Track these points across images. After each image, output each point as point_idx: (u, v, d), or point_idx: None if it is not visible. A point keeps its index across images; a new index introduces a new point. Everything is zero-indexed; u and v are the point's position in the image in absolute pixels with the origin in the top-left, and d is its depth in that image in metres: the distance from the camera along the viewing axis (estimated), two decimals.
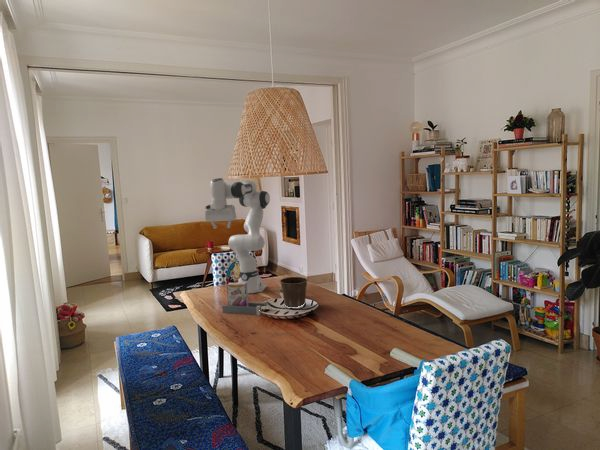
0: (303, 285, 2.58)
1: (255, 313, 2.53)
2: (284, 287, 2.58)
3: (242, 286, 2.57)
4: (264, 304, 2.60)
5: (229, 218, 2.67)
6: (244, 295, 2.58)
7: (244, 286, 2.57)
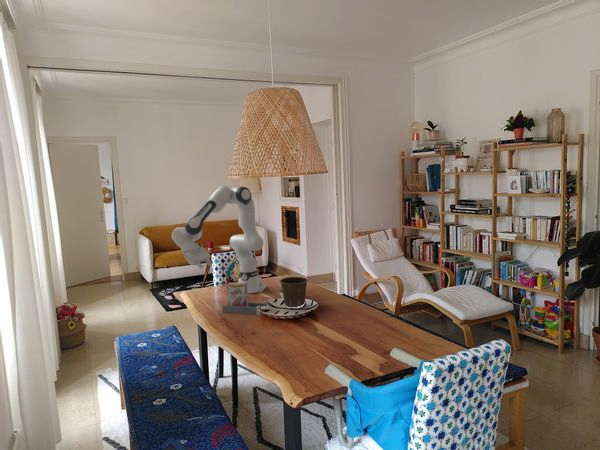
0: (303, 285, 2.58)
1: (255, 313, 2.53)
2: (284, 287, 2.58)
3: (242, 286, 2.57)
4: (264, 304, 2.60)
5: None
6: (244, 295, 2.58)
7: (244, 286, 2.57)
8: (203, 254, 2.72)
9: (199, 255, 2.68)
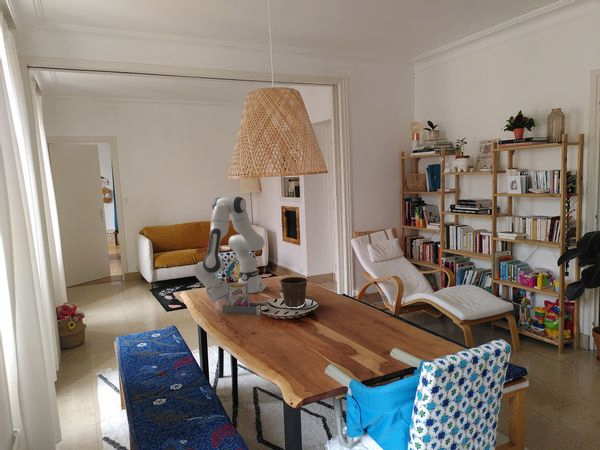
0: (303, 285, 2.58)
1: (255, 313, 2.53)
2: (284, 287, 2.58)
3: (243, 286, 2.57)
4: (264, 304, 2.60)
5: None
6: (245, 295, 2.58)
7: (245, 286, 2.57)
8: (226, 289, 2.68)
9: (222, 291, 2.63)
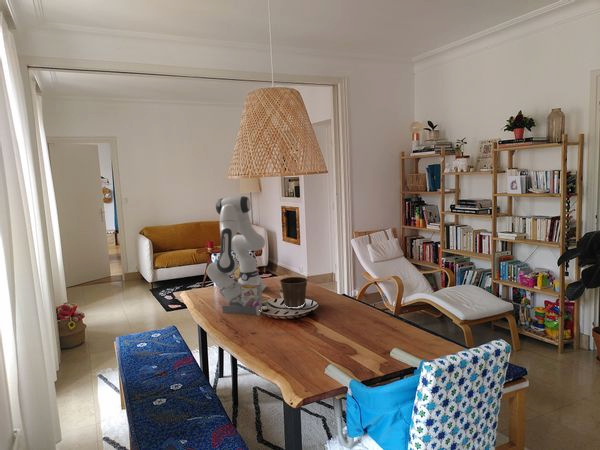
0: (303, 285, 2.58)
1: (255, 313, 2.53)
2: (284, 287, 2.58)
3: (255, 287, 2.53)
4: (264, 304, 2.60)
5: None
6: (256, 297, 2.53)
7: (256, 288, 2.52)
8: (239, 290, 2.64)
9: (235, 291, 2.60)
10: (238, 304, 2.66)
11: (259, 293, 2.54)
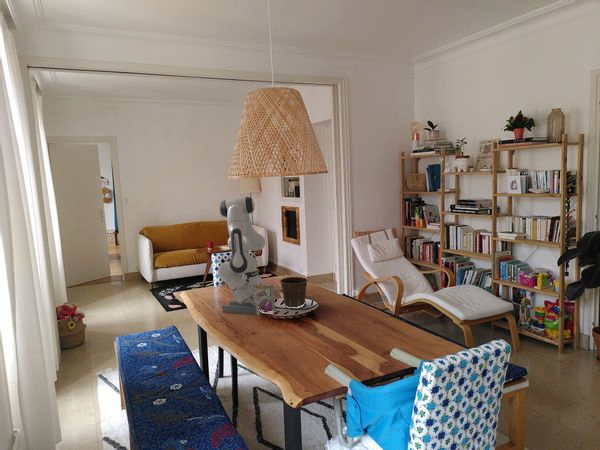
0: (303, 285, 2.58)
1: (255, 313, 2.53)
2: (284, 287, 2.58)
3: (267, 288, 2.50)
4: None
5: None
6: (269, 297, 2.50)
7: (269, 288, 2.49)
8: (251, 290, 2.62)
9: (247, 292, 2.58)
10: (238, 304, 2.66)
11: (272, 294, 2.51)
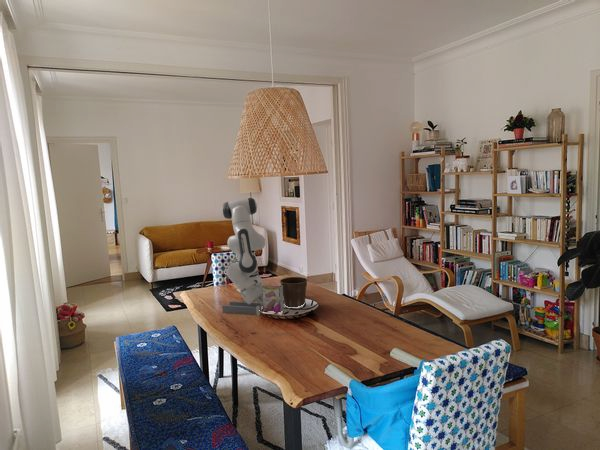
0: (303, 285, 2.58)
1: (255, 313, 2.53)
2: (284, 287, 2.58)
3: (276, 289, 2.48)
4: None
5: None
6: (278, 298, 2.48)
7: (278, 289, 2.48)
8: (259, 291, 2.60)
9: (256, 292, 2.56)
10: (238, 304, 2.66)
11: (281, 294, 2.49)
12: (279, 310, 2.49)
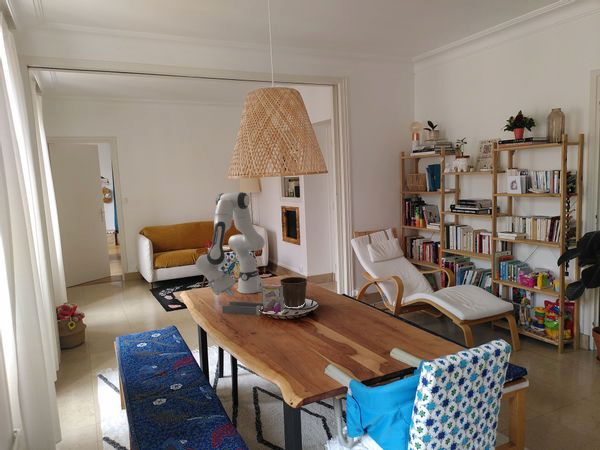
0: (303, 285, 2.58)
1: (255, 313, 2.53)
2: (284, 287, 2.58)
3: (276, 289, 2.48)
4: None
5: None
6: (278, 298, 2.48)
7: (278, 289, 2.48)
8: (228, 282, 2.68)
9: (224, 284, 2.64)
10: (238, 304, 2.66)
11: (281, 294, 2.49)
12: (279, 310, 2.49)
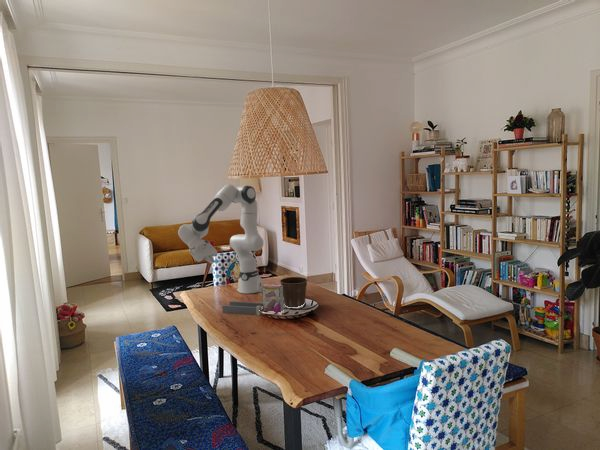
0: (303, 285, 2.58)
1: (255, 313, 2.53)
2: (284, 287, 2.58)
3: (276, 289, 2.48)
4: None
5: None
6: (278, 298, 2.48)
7: (278, 289, 2.47)
8: (210, 250, 2.73)
9: (206, 252, 2.69)
10: (238, 304, 2.66)
11: (281, 294, 2.49)
12: (279, 310, 2.49)
